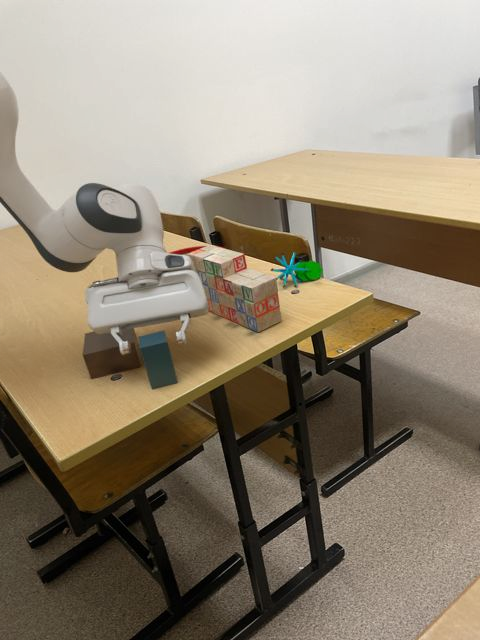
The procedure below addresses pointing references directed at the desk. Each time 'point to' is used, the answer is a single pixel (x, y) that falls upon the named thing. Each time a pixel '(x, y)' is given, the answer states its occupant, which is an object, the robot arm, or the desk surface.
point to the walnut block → (110, 353)
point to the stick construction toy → (298, 270)
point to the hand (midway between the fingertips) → (154, 348)
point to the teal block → (157, 359)
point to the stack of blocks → (237, 288)
